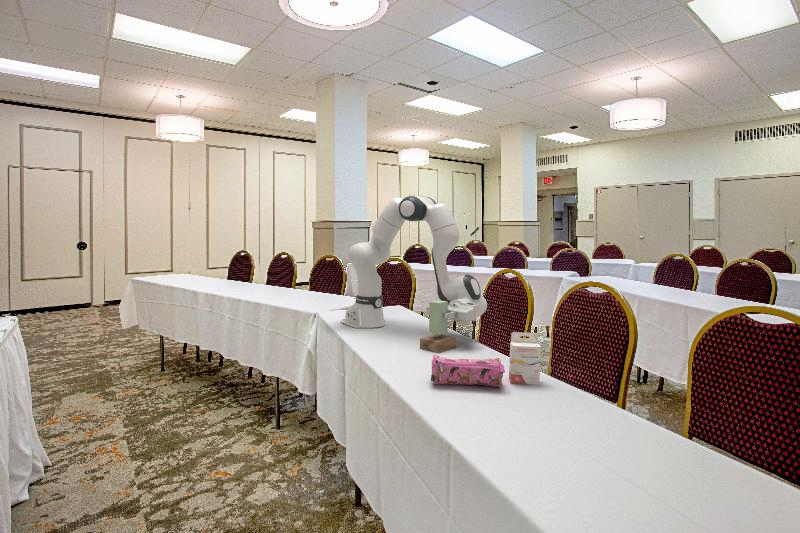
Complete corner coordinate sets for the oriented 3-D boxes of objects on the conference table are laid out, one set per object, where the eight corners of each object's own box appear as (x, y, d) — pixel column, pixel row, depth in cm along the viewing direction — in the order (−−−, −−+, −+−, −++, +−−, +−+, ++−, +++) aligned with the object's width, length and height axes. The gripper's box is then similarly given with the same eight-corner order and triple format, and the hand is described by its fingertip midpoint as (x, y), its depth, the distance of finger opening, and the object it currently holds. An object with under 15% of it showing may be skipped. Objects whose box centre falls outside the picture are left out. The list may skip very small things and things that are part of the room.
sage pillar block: (429, 332, 181) (429, 301, 180) (437, 330, 184) (437, 300, 183) (439, 334, 177) (439, 303, 176) (447, 332, 181) (447, 301, 180)
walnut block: (419, 348, 181) (419, 338, 180) (437, 343, 189) (437, 333, 188) (438, 353, 174) (438, 342, 174) (456, 347, 182) (456, 337, 182)
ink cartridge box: (510, 383, 141) (512, 335, 140) (508, 378, 146) (509, 331, 145) (540, 384, 141) (541, 336, 139) (537, 379, 146) (538, 332, 144)
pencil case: (429, 388, 138) (430, 358, 137) (432, 378, 147) (433, 350, 146) (504, 393, 134) (505, 362, 133) (503, 382, 143) (503, 353, 142)
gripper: (438, 299, 197) (416, 303, 187) (480, 305, 183) (458, 310, 173) (438, 314, 197) (416, 319, 187) (479, 321, 183) (458, 327, 173)
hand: (437, 314), depth 180 cm, fingers closed on sage pillar block, 5 cm apart
